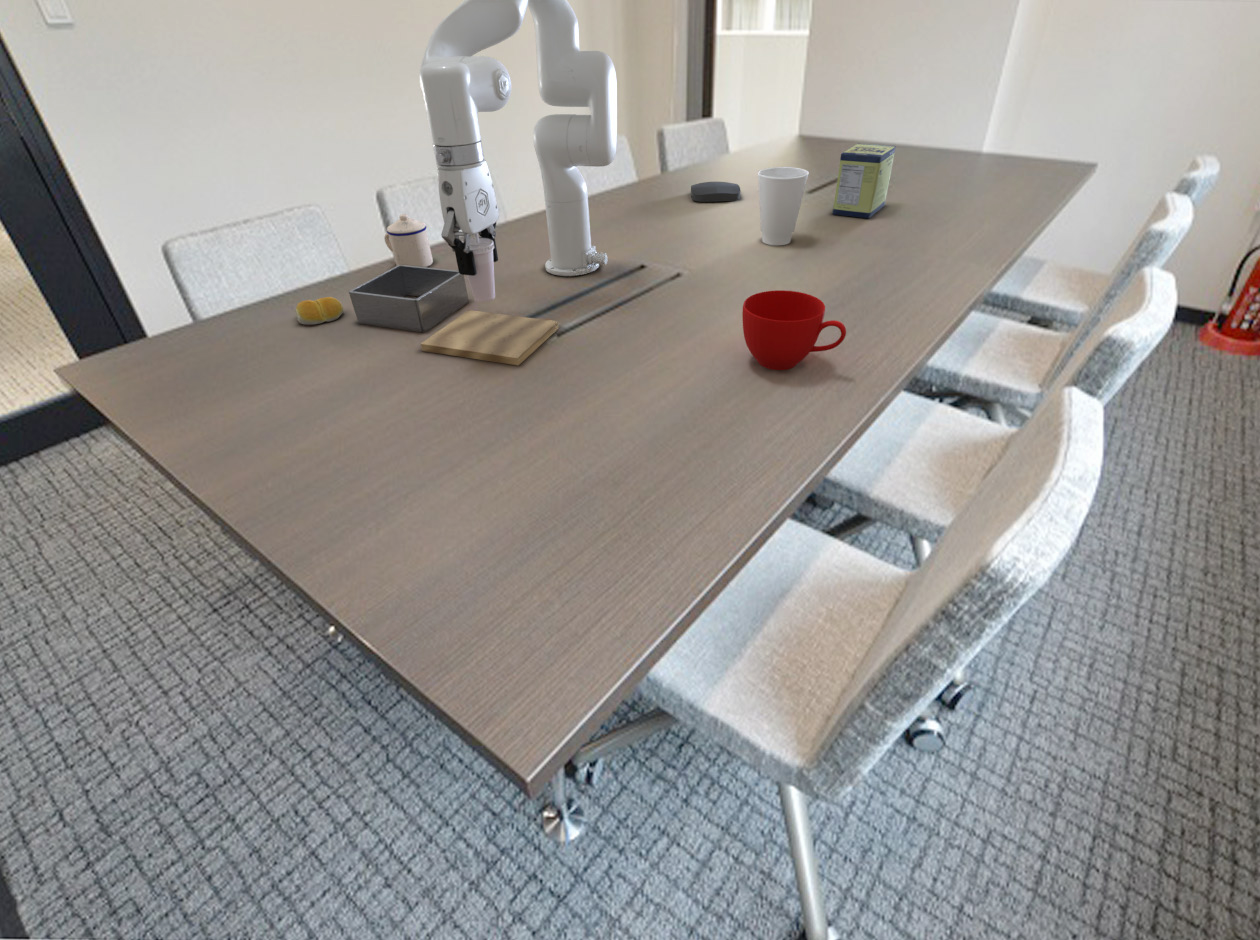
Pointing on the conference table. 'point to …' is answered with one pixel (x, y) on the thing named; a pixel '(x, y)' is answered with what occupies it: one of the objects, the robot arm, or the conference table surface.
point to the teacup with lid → (409, 242)
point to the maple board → (491, 337)
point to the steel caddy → (389, 309)
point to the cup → (780, 202)
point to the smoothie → (482, 269)
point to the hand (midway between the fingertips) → (479, 266)
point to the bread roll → (318, 310)
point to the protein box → (863, 180)
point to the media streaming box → (715, 191)
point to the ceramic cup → (785, 327)
